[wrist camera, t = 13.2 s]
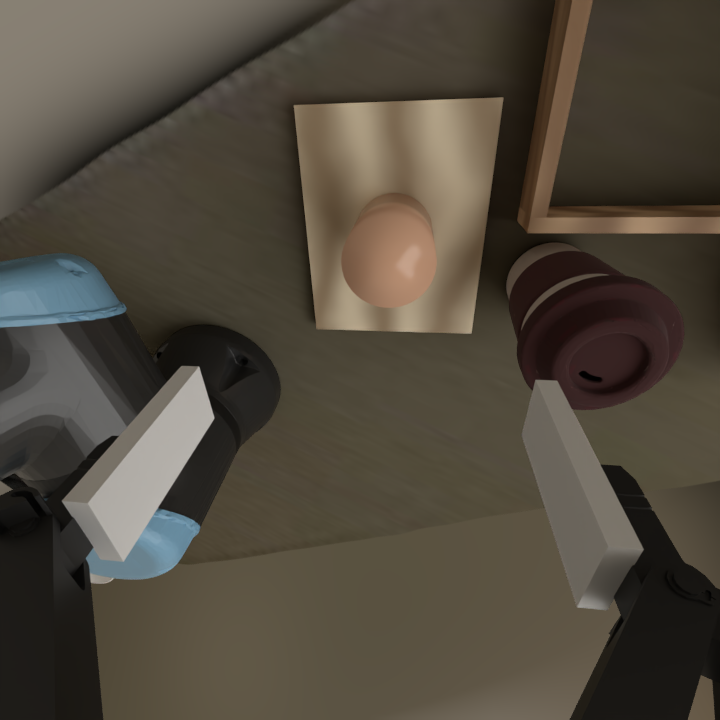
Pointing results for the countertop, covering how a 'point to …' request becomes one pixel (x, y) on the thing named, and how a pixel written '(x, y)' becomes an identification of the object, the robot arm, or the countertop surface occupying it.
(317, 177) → the board
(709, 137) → the countertop surface
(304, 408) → the countertop surface
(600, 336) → the coffee cup
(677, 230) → the cold frame
